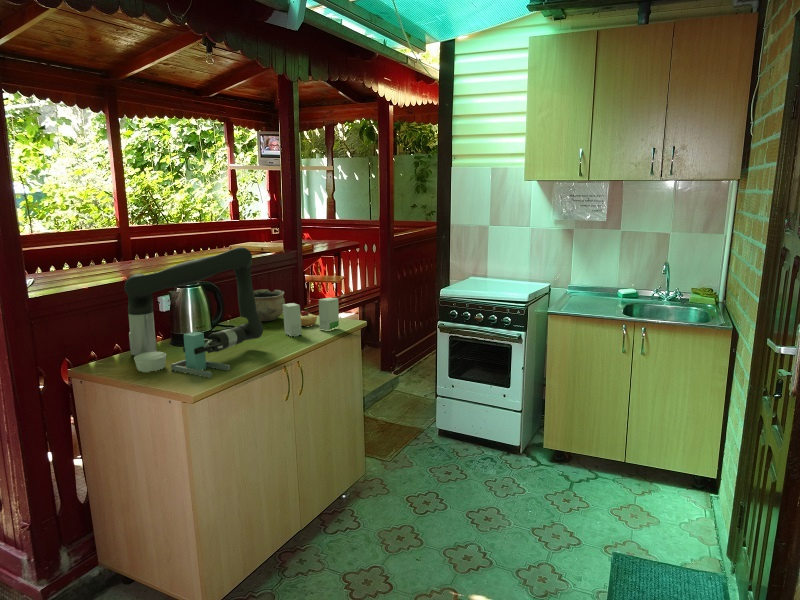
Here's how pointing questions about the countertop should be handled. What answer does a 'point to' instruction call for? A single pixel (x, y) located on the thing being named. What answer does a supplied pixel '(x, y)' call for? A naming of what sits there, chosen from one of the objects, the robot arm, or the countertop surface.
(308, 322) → the pastry
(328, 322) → the skincare box
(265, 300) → the ceramic bowl
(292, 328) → the skincare box
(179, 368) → the grey rectangular frame
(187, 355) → the teal block
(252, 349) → the countertop surface
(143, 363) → the ramekin
